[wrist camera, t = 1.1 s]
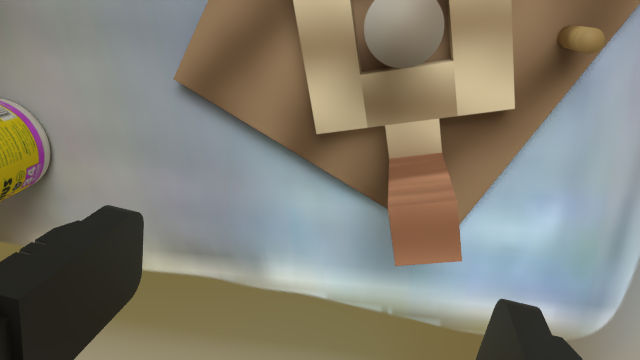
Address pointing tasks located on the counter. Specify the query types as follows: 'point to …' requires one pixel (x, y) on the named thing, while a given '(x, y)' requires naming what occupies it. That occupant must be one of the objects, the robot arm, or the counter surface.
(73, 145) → the counter surface
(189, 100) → the counter surface
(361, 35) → the post base
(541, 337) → the robot arm
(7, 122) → the supplement bottle
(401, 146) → the square frame with handle
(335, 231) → the counter surface
